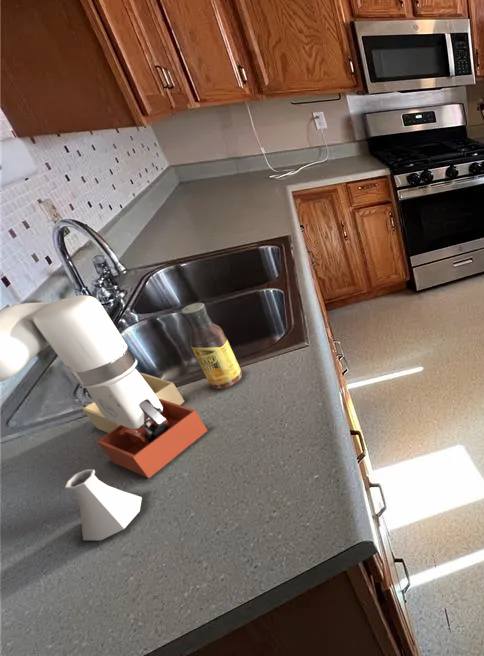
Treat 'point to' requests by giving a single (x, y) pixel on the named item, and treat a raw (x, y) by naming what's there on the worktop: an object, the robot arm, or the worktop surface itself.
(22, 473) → the worktop surface
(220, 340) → the sauce bottle
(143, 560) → the worktop surface
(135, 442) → the terracotta block
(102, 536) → the flask
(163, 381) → the cream bin
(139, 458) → the terracotta bin
